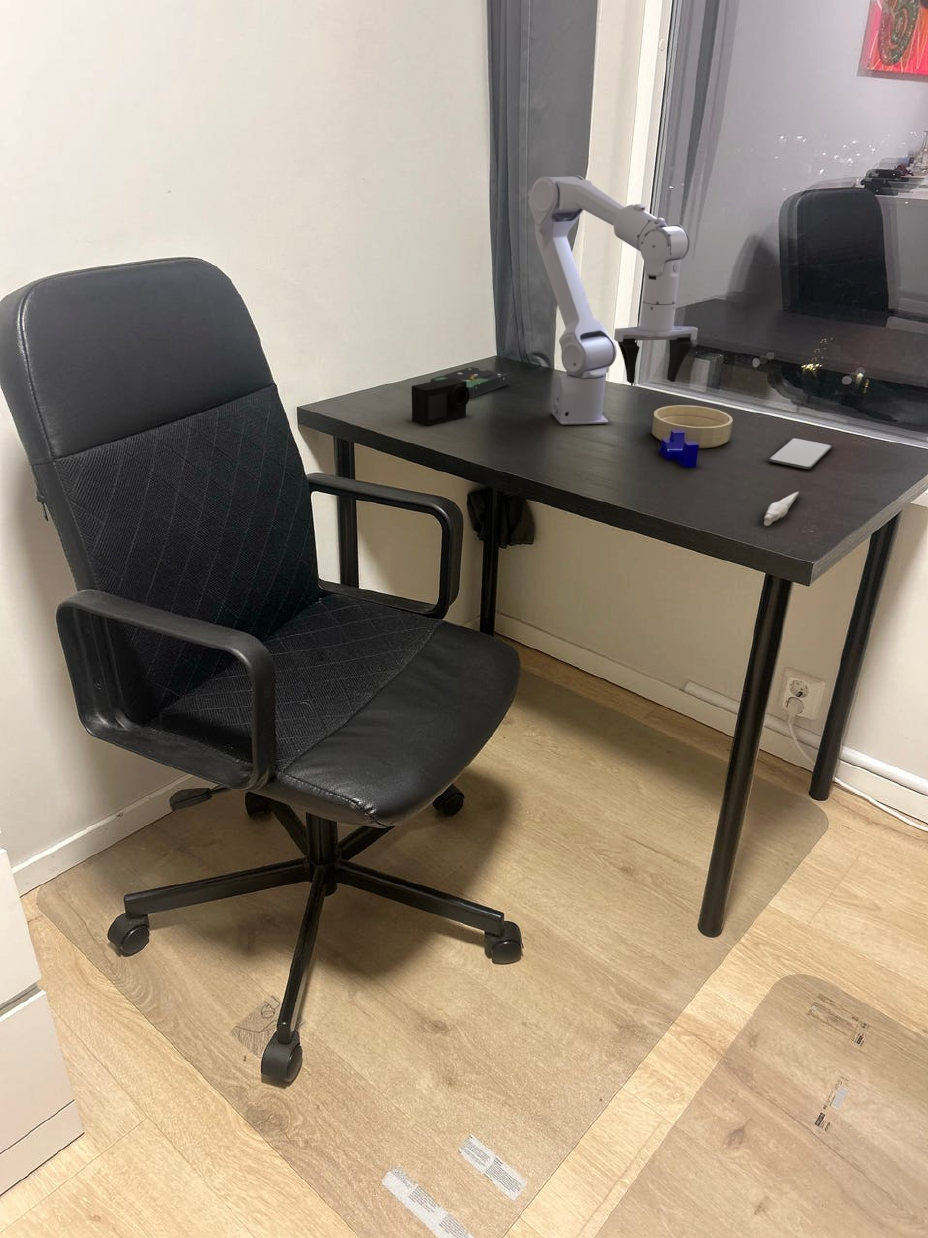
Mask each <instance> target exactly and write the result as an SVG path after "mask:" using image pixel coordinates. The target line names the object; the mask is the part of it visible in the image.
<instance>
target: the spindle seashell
mask: <svg viewBox="0 0 928 1238" xmlns="http://www.w3.org/2000/svg"><path fill="white" fill-rule="evenodd" d="M799 493H800V492H799V491H796V492H794V493H791V494H789V495H787V496H786V497H784V498H782V499H781V500H779V501H774V502H772V503H771V504H770V505H768V508H767V510H766V511H765V516H764V517H763V519H764V521H763V525H764V526H767V527H768V526H770V525H771V524H773V522H777V521H778V520H780V519H783V518H784V517H785V516H786V515H787V514H788V512H789V508H791V506H792V505H793V503H794V502H795V500H796V498H797V497H798V496H799Z"/></svg>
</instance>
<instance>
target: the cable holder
mask: <svg viewBox="0 0 928 1238" xmlns="http://www.w3.org/2000/svg"><path fill="white" fill-rule="evenodd" d="M660 442H661V443H660V449H659V454H661V455H662V456H663V457H664V458H665V459H666V460H667V461H676V462H678V463H679V464H680V465H681V466H682V467H683V468H686V469H689V468H697V460H698V455H699V449H700V448H699V444H698V443H697V442H685V432H684V431H682V430H671V434H670V439H662V441H661V440H660Z"/></svg>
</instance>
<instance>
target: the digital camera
mask: <svg viewBox="0 0 928 1238" xmlns="http://www.w3.org/2000/svg"><path fill="white" fill-rule="evenodd" d="M469 397H470V393H469V390H468V388H467V382H466V381H463V380H459V379H456V378H448V379H443V380H438V381H433V382H431V381H429V382H423V383H419V384H414V385H411V421H412V422H414V423H416V424H418V425H422V426H424V427H428V426H432V425H438V424H441V423H445V422H448V421H449V422H450V421H453V420H457V419H458V420H459V419H461V418H465V417H467V405H468V403H469V401H470V398H469Z"/></svg>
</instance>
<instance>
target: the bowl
mask: <svg viewBox="0 0 928 1238" xmlns="http://www.w3.org/2000/svg"><path fill="white" fill-rule="evenodd" d="M733 423H734V419H733V417H732V416H731V415H730V414H729V413H727V412H725V411H722V410H719V409H716V408H711V407H706V406H700V405H688V404H680V405H679V404H678V405H677V404H675V405H667V406H662V407H660V408H657V409H656V410H654V411H653V418H652V423H651V424H652V425H651V435H653V436H654V437H655V438H656V439H658V440H659V441H660V442H661V441H662V439H670V434H671V430H682V431H684V432H685V442H697V443H698V444H699V449H710V448H716V447H719V446H722V445H723V444H726V443H728V441H730V440H731V434H732V429H733Z"/></svg>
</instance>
